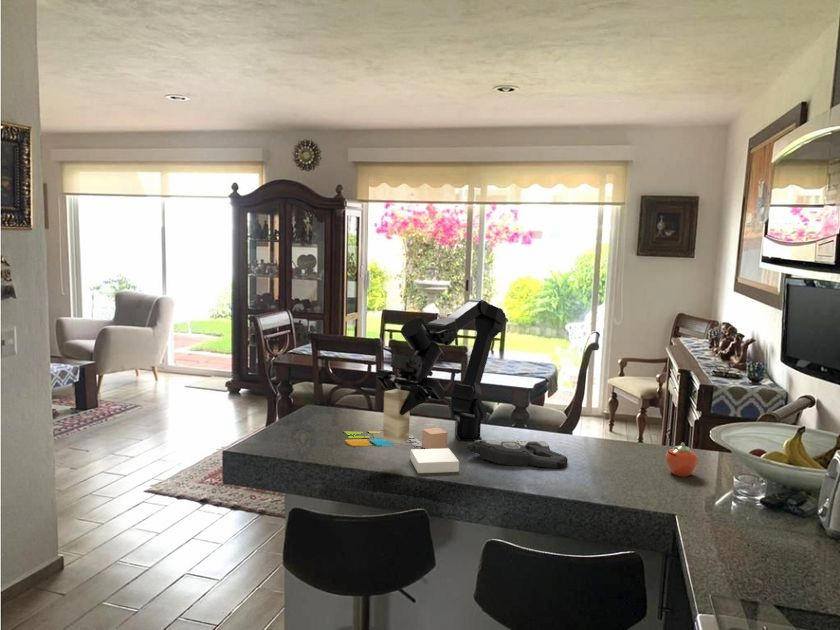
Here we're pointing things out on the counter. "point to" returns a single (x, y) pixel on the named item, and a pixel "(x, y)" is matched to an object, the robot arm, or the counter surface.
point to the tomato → (681, 460)
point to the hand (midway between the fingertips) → (393, 412)
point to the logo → (376, 441)
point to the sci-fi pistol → (518, 453)
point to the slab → (434, 460)
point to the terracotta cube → (434, 438)
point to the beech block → (395, 416)
